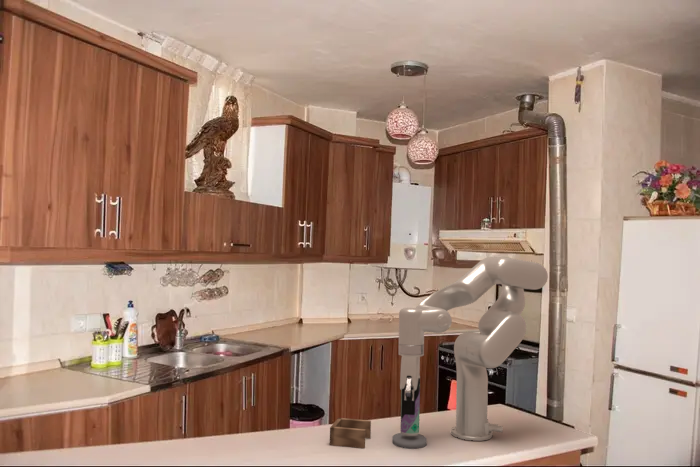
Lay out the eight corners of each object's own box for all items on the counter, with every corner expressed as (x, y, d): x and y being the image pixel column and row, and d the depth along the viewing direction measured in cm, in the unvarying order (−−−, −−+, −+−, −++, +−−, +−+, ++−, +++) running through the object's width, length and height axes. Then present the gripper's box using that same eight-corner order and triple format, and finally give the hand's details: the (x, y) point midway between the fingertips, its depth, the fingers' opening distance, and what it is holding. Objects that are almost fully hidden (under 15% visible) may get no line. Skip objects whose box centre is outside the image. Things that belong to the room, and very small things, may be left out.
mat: (427, 439, 170) (427, 434, 170) (425, 450, 160) (425, 444, 160) (394, 436, 172) (394, 431, 172) (390, 446, 162) (390, 441, 162)
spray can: (404, 436, 163) (405, 366, 163) (397, 430, 168) (399, 363, 169) (421, 435, 164) (423, 366, 165) (414, 429, 169) (416, 362, 170)
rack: (370, 437, 170) (370, 420, 171) (364, 448, 160) (364, 430, 160) (337, 434, 172) (338, 417, 173) (329, 445, 162) (330, 427, 162)
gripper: (401, 345, 176) (401, 403, 175) (395, 353, 159) (394, 418, 159) (425, 346, 175) (425, 405, 174) (421, 355, 158) (420, 420, 157)
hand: (410, 410), depth 166 cm, fingers closed on spray can, 5 cm apart
